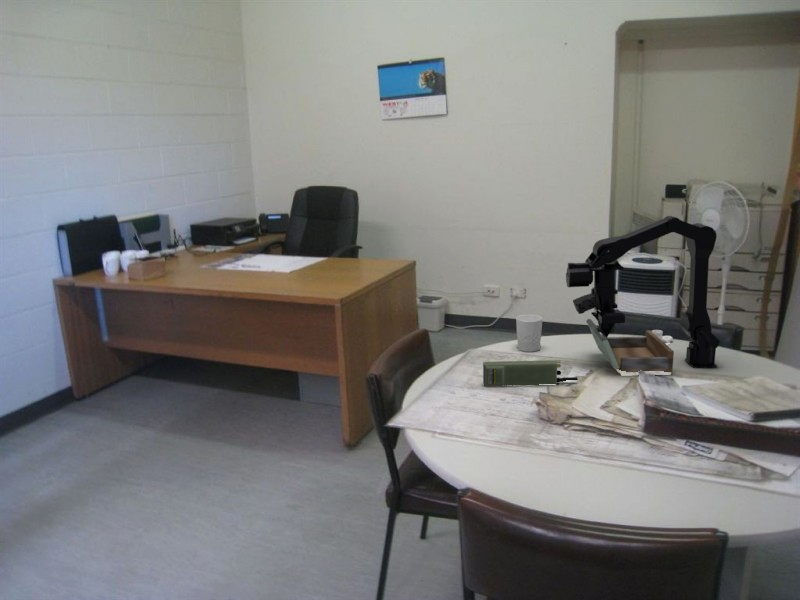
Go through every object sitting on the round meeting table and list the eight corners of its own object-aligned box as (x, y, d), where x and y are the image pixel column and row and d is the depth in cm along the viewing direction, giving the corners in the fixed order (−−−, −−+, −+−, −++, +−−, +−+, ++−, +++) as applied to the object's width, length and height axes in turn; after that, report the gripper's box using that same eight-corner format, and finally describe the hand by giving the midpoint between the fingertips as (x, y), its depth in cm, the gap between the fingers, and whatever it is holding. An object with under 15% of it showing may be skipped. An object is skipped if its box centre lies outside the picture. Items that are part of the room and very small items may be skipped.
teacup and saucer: (671, 340, 199) (672, 328, 198) (674, 348, 191) (675, 335, 190) (642, 338, 201) (642, 326, 200) (643, 346, 194) (644, 334, 193)
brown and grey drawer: (648, 352, 187) (649, 330, 186) (671, 375, 169) (673, 351, 167) (602, 353, 188) (603, 331, 186) (621, 376, 170) (622, 352, 168)
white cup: (543, 352, 191) (544, 321, 188) (518, 353, 191) (518, 321, 188) (538, 344, 198) (539, 314, 196) (514, 344, 199) (514, 314, 196)
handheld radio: (482, 383, 170) (575, 381, 168) (483, 388, 166) (578, 386, 165) (482, 360, 168) (576, 358, 166) (483, 365, 164) (579, 363, 163)
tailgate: (602, 346, 187) (590, 317, 185) (620, 367, 170) (606, 336, 168) (597, 348, 187) (585, 319, 185) (614, 370, 170) (601, 338, 168)
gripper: (568, 279, 183) (568, 330, 187) (583, 295, 165) (583, 351, 169) (606, 277, 182) (606, 328, 186) (626, 292, 164) (625, 348, 168)
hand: (604, 338), depth 177 cm, fingers closed, pressing on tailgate
